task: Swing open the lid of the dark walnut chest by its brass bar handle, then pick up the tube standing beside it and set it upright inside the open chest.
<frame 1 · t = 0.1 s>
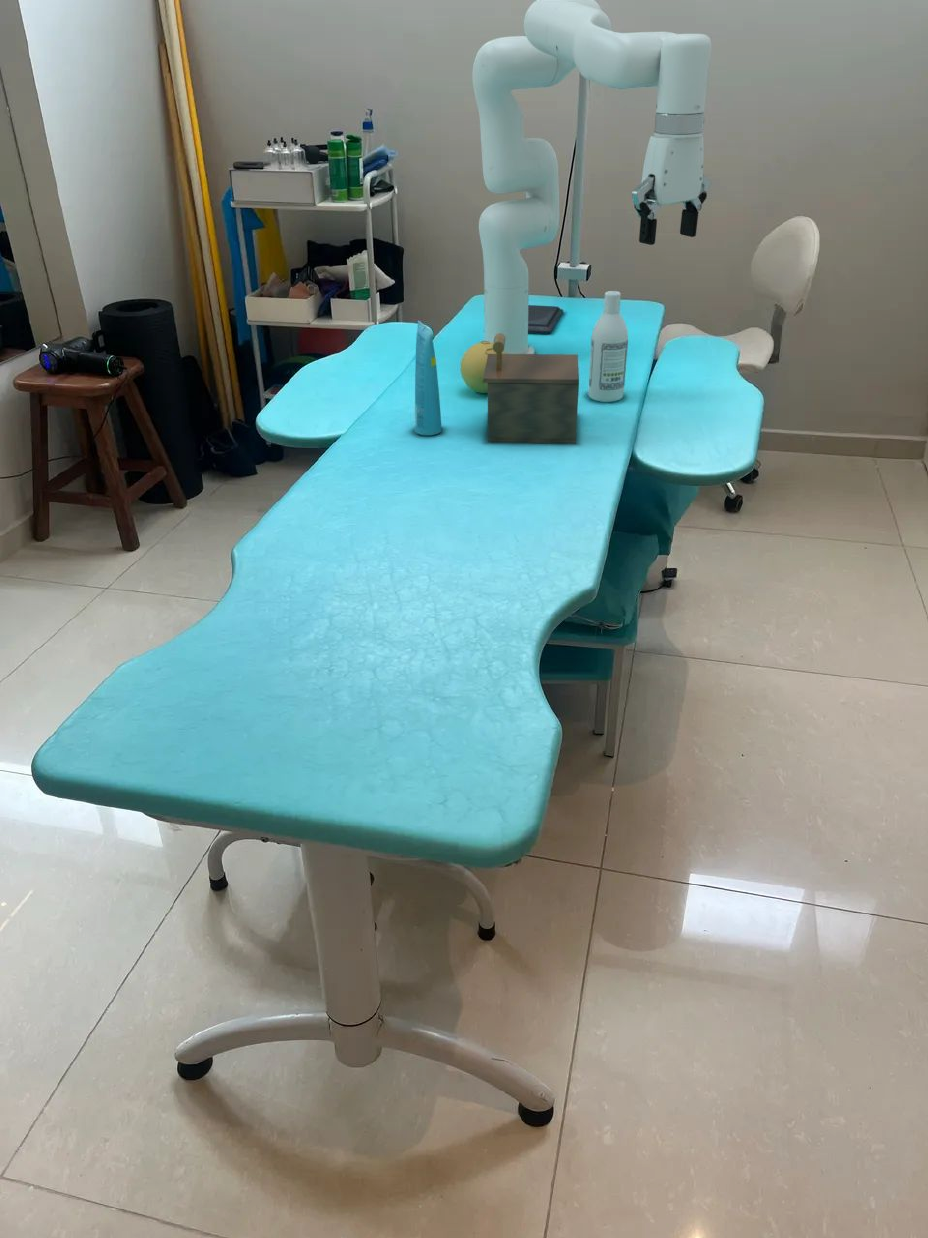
hand: (667, 239, 156), 31 cm above the table, tool pointing down, fingers open, 9 cm apart
wallet: (527, 321, 226), on the table
tube: (428, 431, 168), on the table
chest: (532, 428, 168), on the table
stress ball: (485, 392, 185), on the table
bath foam: (605, 397, 181), on the table
lid: (532, 354, 161), point 14 cm above the table, hinge at 0.0°
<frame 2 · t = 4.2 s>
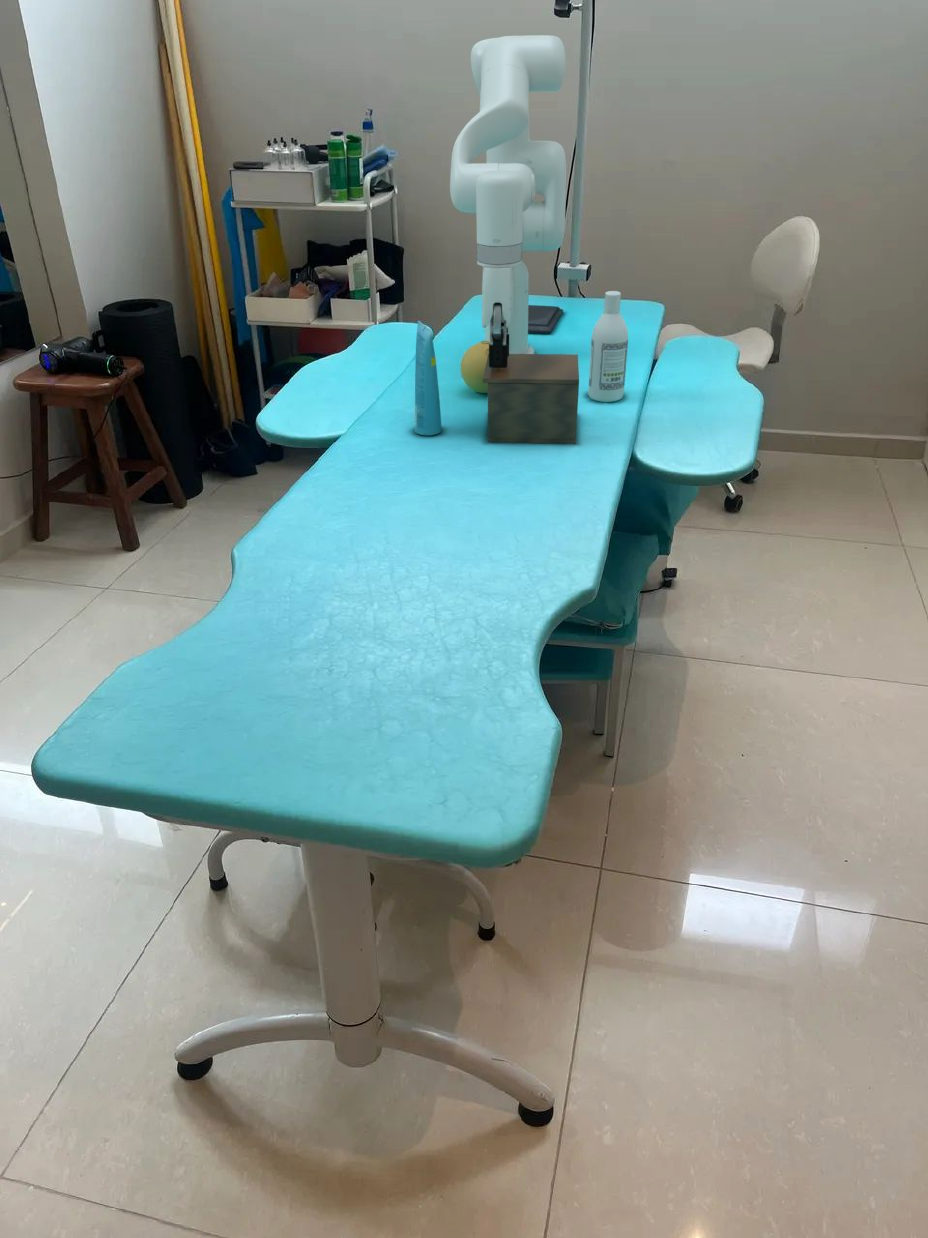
hand: (499, 360, 162), 13 cm above the table, tool pointing down, fingers closed on lid, 5 cm apart
lid: (532, 354, 161), point 14 cm above the table, hinge at 0.0°, touching gripper
everything else where it was.
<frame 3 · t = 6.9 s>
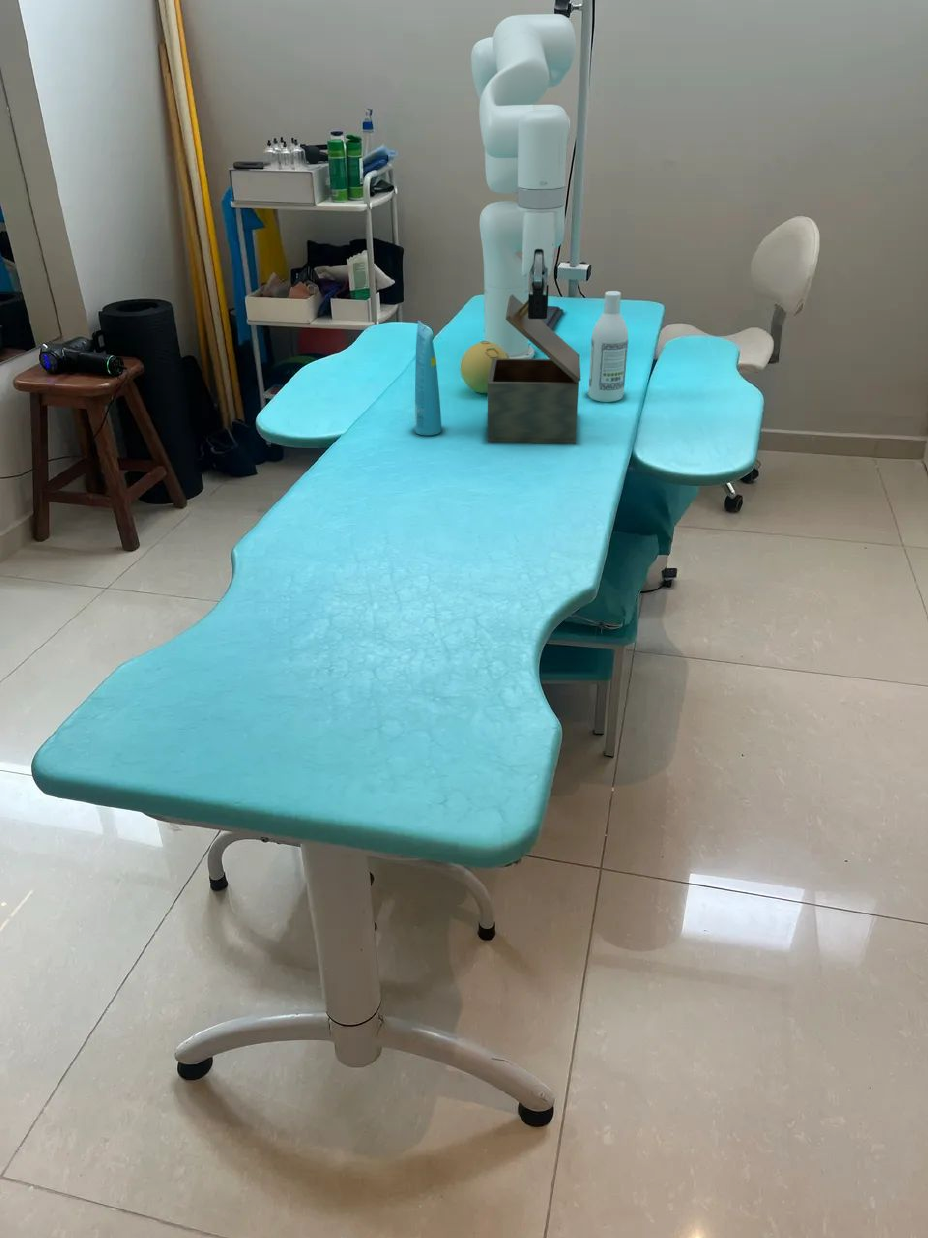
hand: (538, 312, 157), 21 cm above the table, tool pointing down, fingers closed on lid, 5 cm apart
lid: (554, 326, 158), point 19 cm above the table, hinge at 41.1°, touching gripper
everything else where it was.
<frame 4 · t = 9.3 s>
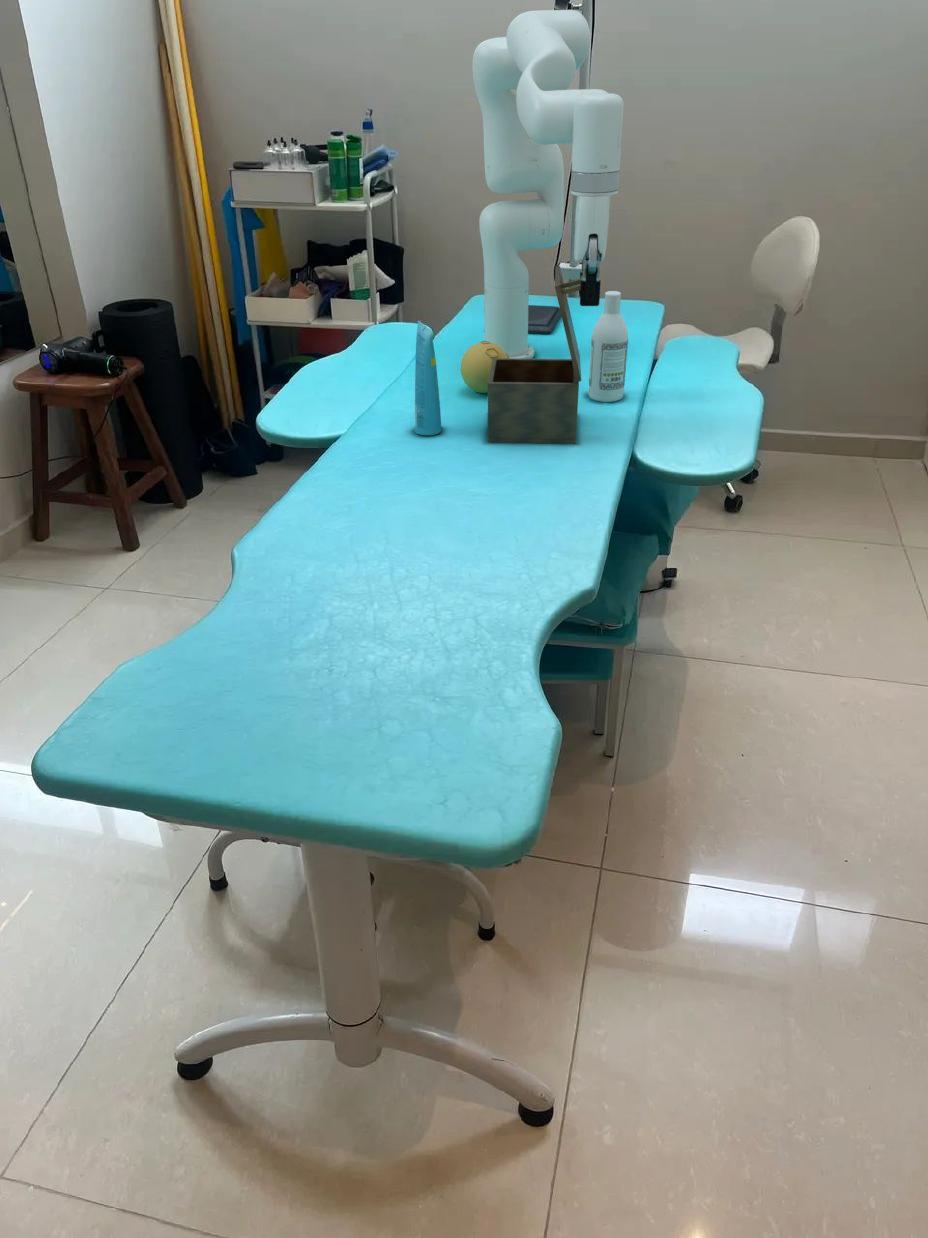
hand: (589, 299, 155), 23 cm above the table, tool pointing down, fingers closed on lid, 5 cm apart
lid: (582, 319, 157), point 20 cm above the table, hinge at 74.8°, touching gripper
everything else where it was.
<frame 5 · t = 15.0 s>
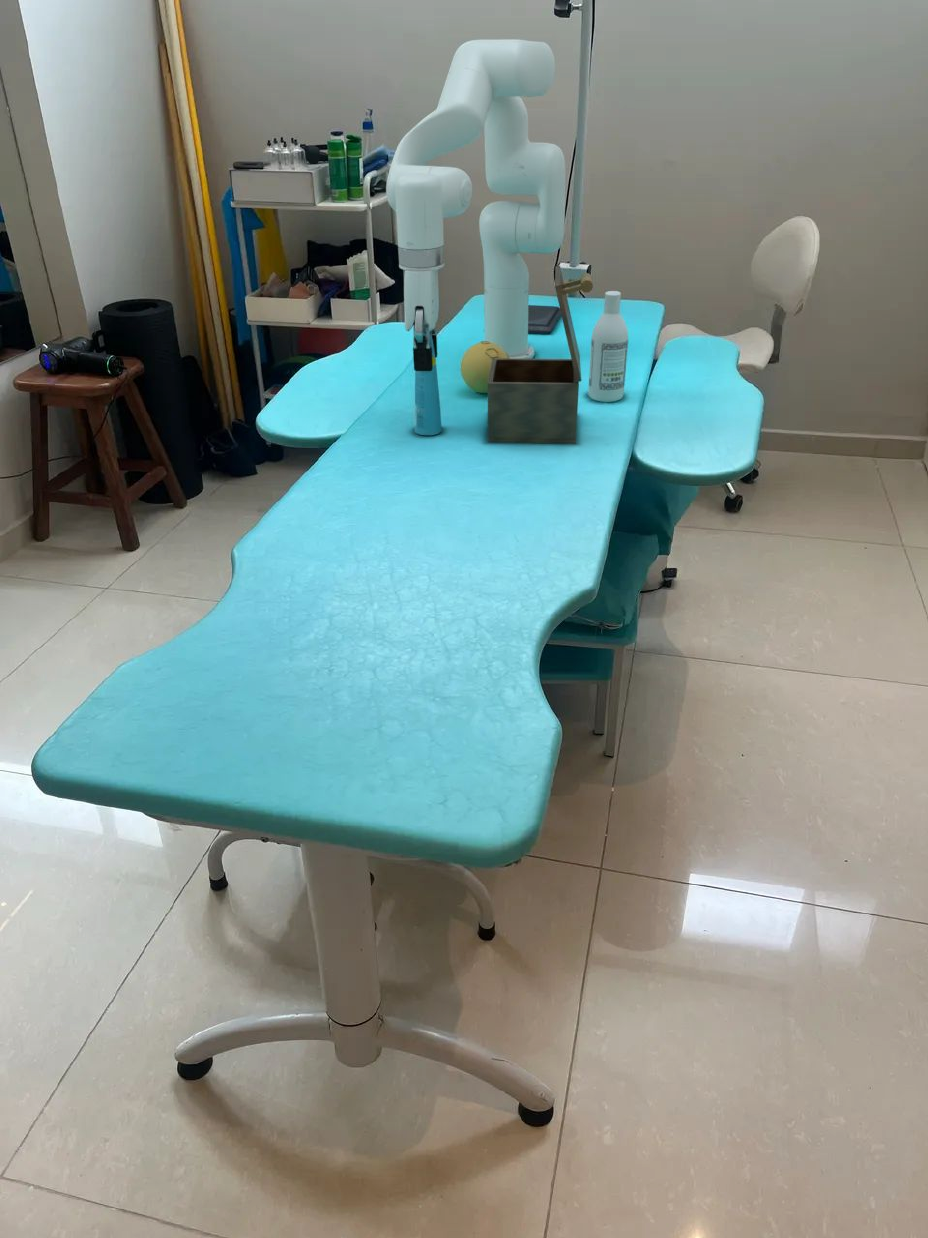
hand: (425, 362, 161), 13 cm above the table, tool pointing down, fingers closed on tube, 6 cm apart
tube: (428, 431, 168), on the table, touching gripper
lid: (582, 319, 157), point 20 cm above the table, hinge at 74.9°
everything else where it was.
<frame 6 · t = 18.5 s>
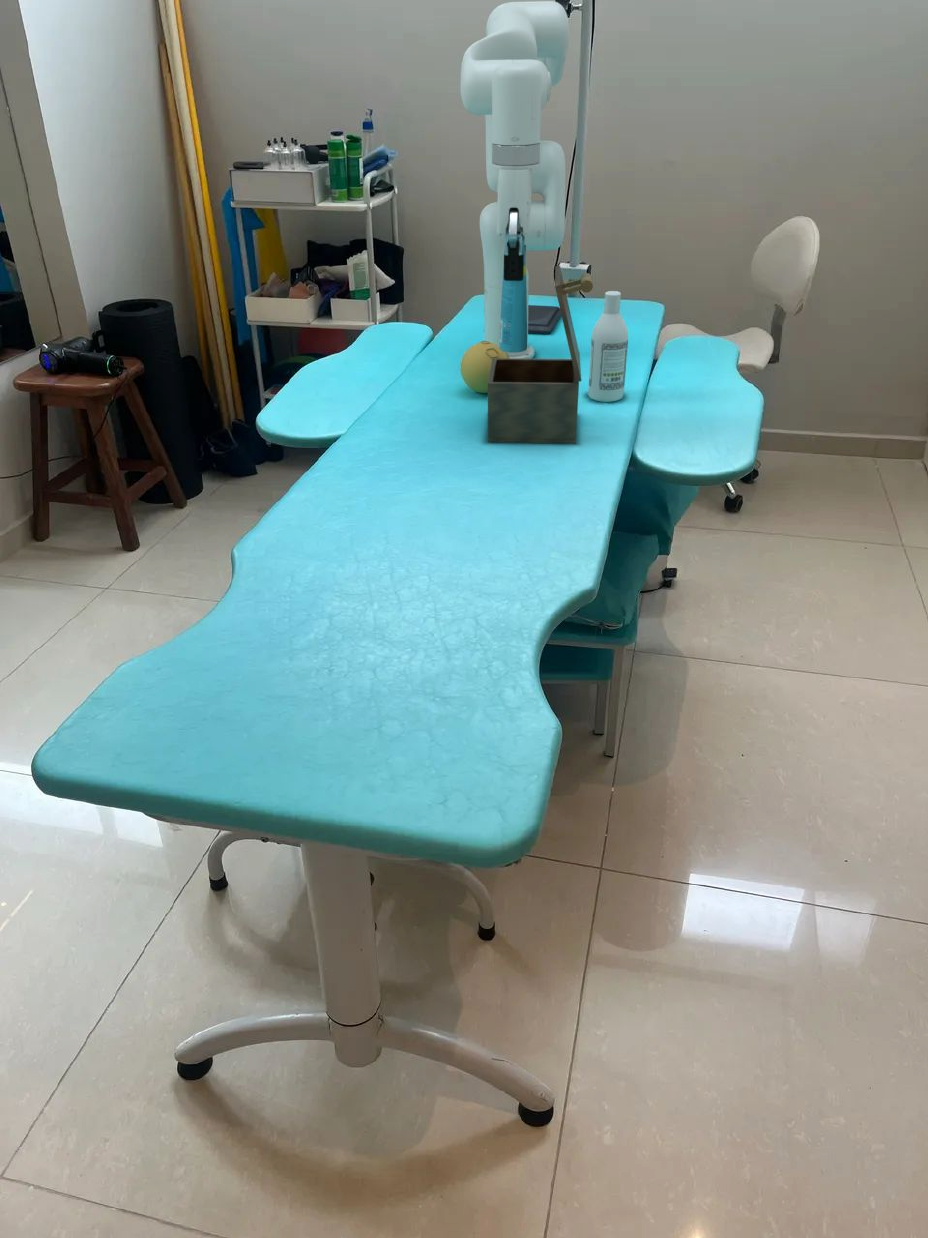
hand: (514, 273, 153), 27 cm above the table, tool pointing down, fingers closed on tube, 6 cm apart
tube: (513, 350, 161), point 14 cm above the table, touching gripper
everything else where it was.
when the fingers open (13 cm above the table, at t = 22.3 s): tube stays where it is, resting on chest.
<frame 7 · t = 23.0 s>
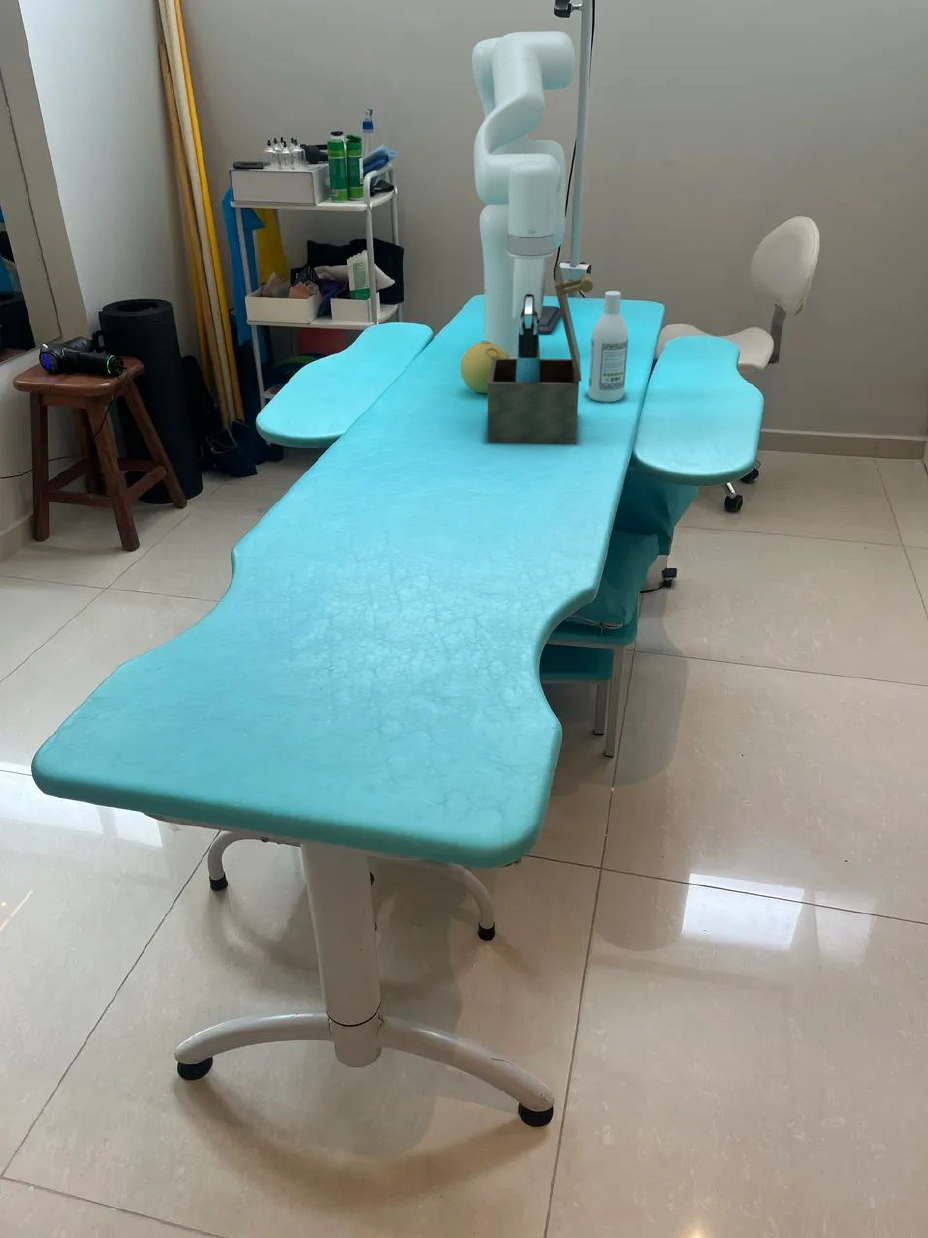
hand: (528, 348, 160), 15 cm above the table, tool pointing down, fingers open, 9 cm apart
tube: (527, 425, 168), point 1 cm above the table, touching chest
everything else where it was.
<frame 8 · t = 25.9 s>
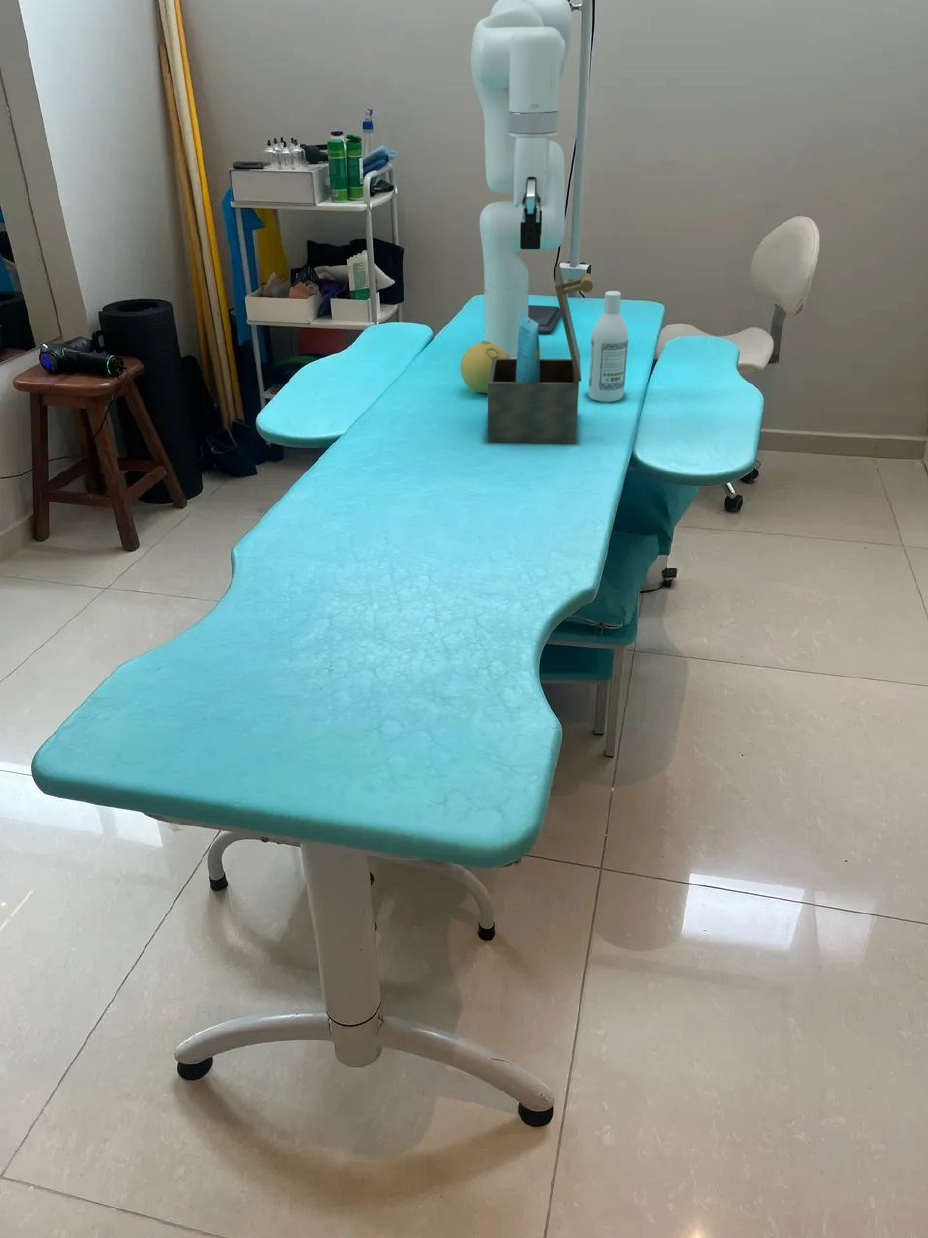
hand: (531, 242, 151), 32 cm above the table, tool pointing down, fingers open, 9 cm apart
nothing on the table moved.
at the end: lid at +75° (first picture: +0°); tube inside the target area in the chest (1.0 cm from its centre), point 0.6 cm above the chest's base; the gripper is holding nothing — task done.
